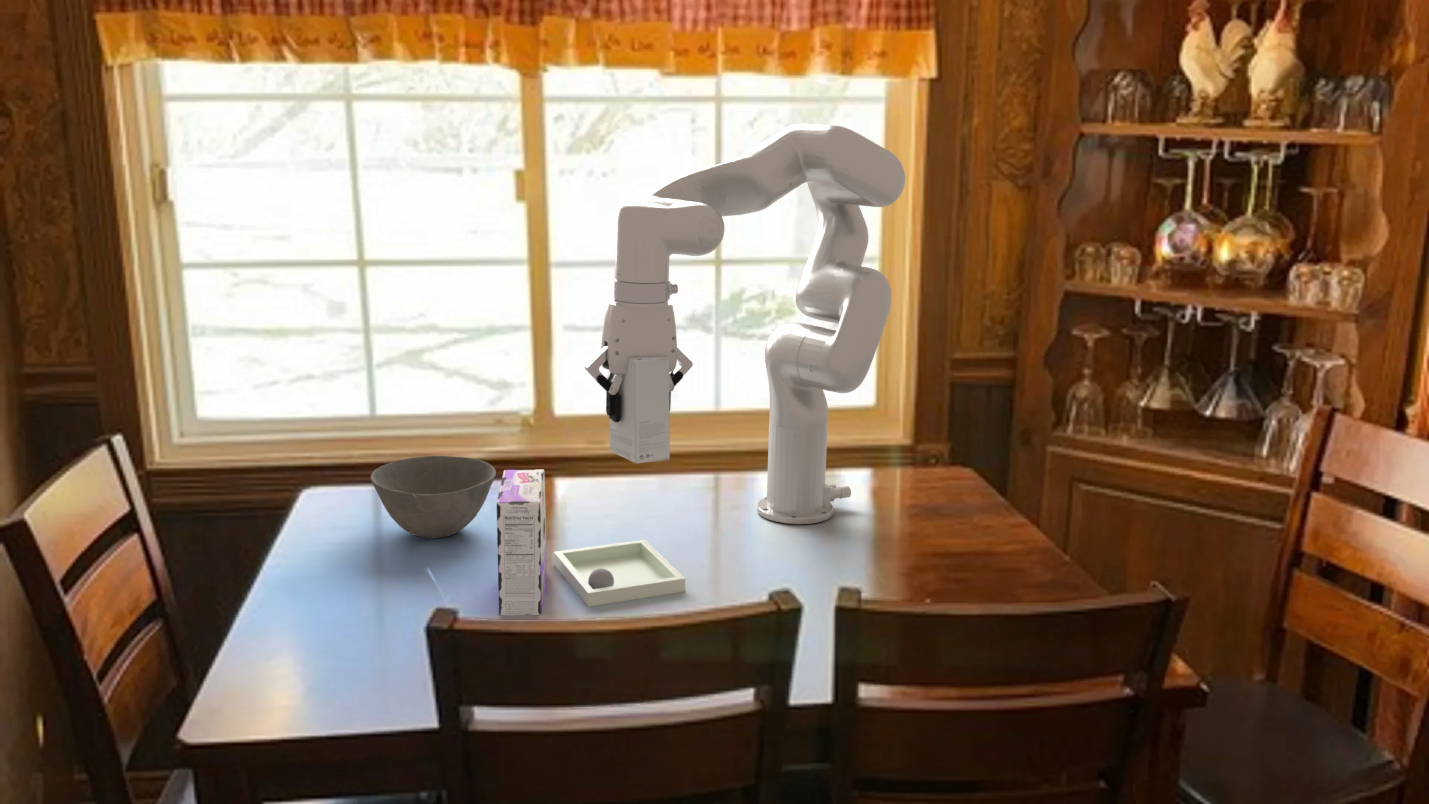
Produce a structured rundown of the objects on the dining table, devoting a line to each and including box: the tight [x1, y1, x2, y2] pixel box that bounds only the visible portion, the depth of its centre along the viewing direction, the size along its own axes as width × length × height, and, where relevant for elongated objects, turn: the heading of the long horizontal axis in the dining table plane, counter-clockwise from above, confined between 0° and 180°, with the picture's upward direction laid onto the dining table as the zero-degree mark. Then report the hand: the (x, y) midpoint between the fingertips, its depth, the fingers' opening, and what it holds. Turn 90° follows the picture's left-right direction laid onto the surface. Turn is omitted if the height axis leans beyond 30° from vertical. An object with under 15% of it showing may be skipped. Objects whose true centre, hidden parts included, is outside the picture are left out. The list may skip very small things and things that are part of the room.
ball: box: [588, 568, 614, 589], centre depth 168 cm, size 4×4×4 cm
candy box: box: [496, 468, 548, 616], centre depth 165 cm, size 14×6×16 cm, turn 5°
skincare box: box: [608, 356, 671, 464], centre depth 174 cm, size 8×6×15 cm
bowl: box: [370, 455, 497, 539], centre depth 189 cm, size 19×19×10 cm
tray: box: [553, 539, 686, 607], centre depth 173 cm, size 14×16×2 cm
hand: (638, 417), depth 174 cm, fingers closed on skincare box, 6 cm apart
